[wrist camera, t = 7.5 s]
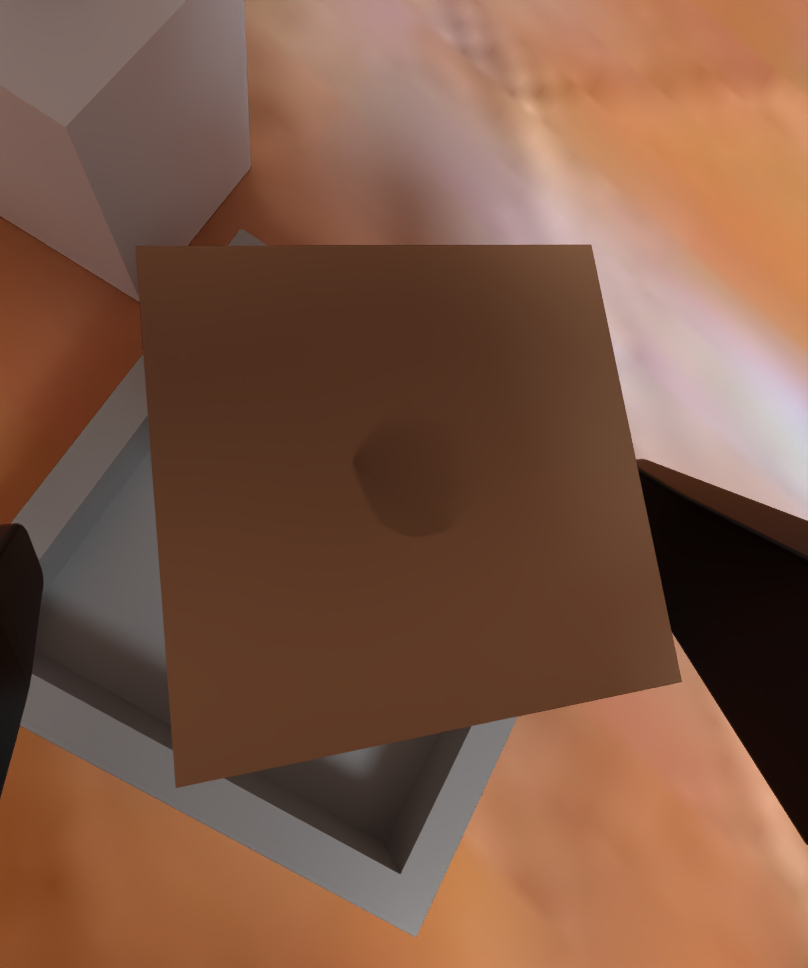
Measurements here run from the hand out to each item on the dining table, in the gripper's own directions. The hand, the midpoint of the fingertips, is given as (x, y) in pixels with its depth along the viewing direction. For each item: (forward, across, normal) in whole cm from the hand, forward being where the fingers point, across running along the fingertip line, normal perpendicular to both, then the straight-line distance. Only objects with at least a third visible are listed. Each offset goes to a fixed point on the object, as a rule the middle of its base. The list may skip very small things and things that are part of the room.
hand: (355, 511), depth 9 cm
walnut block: (+6, 0, +6) cm, 8 cm away
